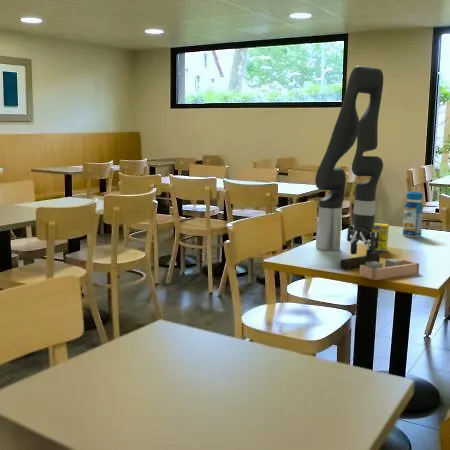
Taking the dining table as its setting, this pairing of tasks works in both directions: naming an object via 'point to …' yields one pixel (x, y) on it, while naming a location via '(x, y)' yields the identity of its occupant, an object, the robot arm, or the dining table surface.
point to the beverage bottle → (413, 215)
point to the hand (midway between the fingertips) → (361, 256)
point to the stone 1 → (374, 264)
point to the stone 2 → (392, 262)
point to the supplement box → (381, 236)
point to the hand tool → (358, 261)
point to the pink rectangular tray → (390, 270)
